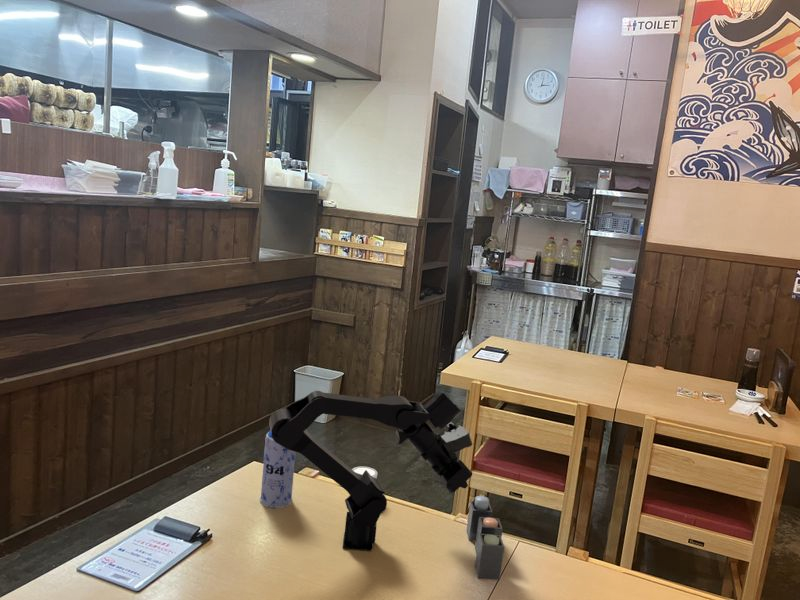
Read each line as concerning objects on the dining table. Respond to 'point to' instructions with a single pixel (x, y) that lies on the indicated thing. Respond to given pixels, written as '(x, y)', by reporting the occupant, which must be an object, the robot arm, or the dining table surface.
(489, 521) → the terracotta button
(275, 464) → the aerosol can
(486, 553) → the button stand
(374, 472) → the shot glass
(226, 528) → the dining table surface
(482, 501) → the slate button
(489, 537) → the sage button
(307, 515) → the dining table surface
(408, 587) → the dining table surface
